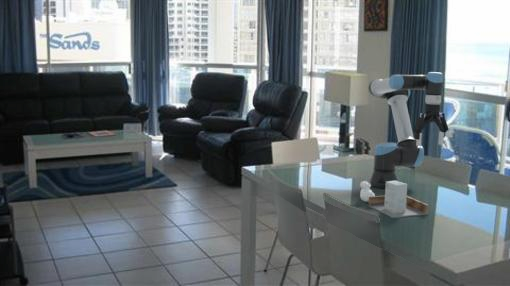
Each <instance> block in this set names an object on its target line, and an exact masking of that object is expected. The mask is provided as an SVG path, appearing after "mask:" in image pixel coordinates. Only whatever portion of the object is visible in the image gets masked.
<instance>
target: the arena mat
mask: <svg viewBox="0 0 510 286" xmlns="http://www.w3.org/2000/svg"><path fill="white" fill-rule="evenodd" d="M368 207H370V208H372V209H373V210H376V211H377V212H379V213H382V214H384V215H386V216H387V217H390V218H391V219H398V218H399V219H400V218H406V217H407V218H408V217H417V216H419V217H420V216H427V215H428V214H429V212H428V213H424V212H421V211H419V210H417V209H415V208H412V207H410V206H408V205H406V211H403V212H397V213H396V212H393V211H390V210H388V209H385V208H384V204H381V205H371V206H370V205H369V204H368Z"/></svg>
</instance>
